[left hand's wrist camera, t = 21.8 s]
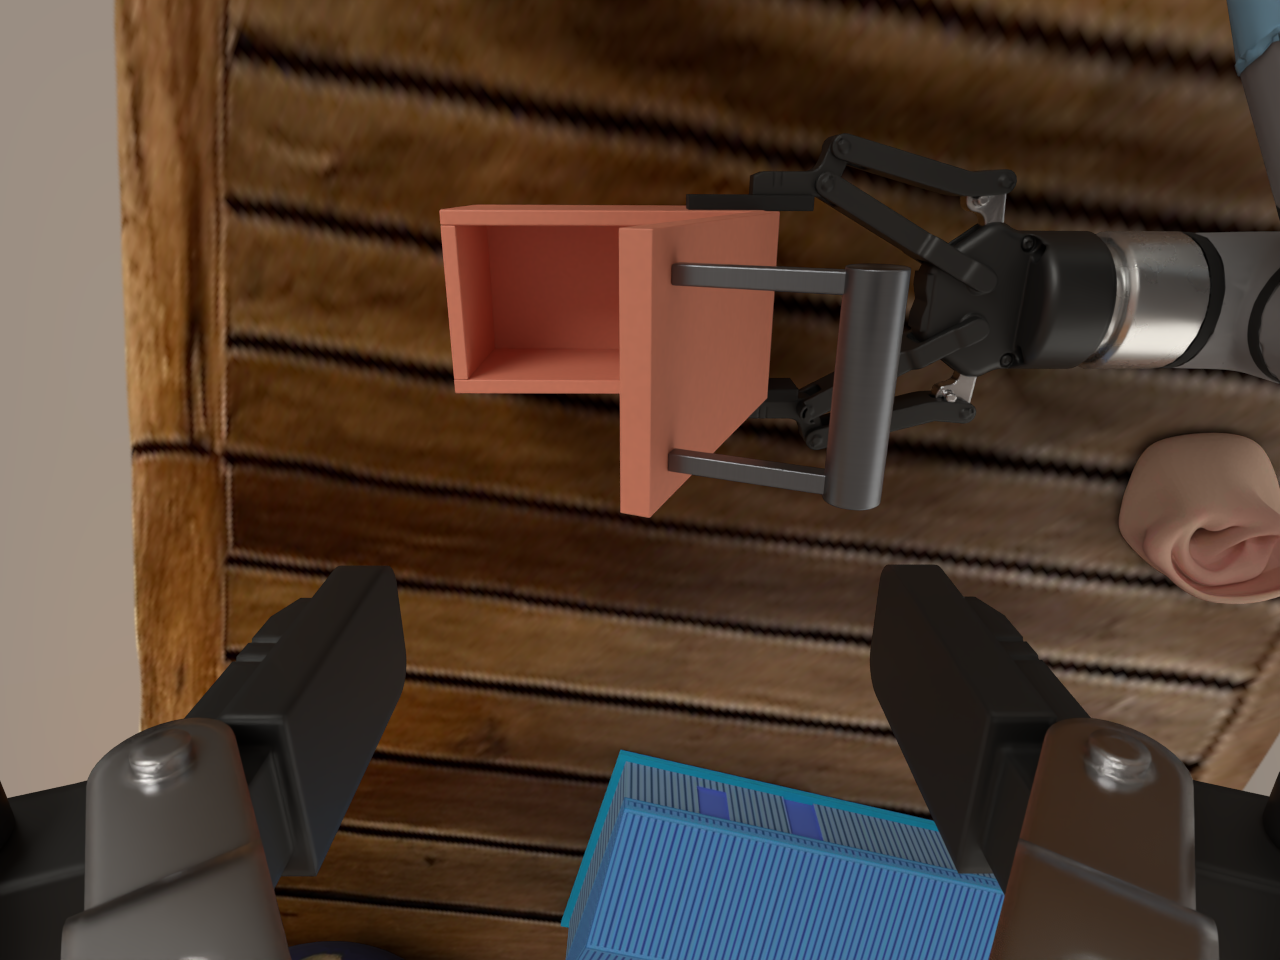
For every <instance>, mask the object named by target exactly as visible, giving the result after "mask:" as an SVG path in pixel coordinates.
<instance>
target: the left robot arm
mask: <svg viewBox="0 0 1280 960" xmlns="http://www.w3.org/2000/svg"><path fill="white" fill-rule="evenodd" d="M870 672H871V679H872V684H873V688H874V691H875V694H876V696H877V698H878V700H879V703H880V705H881V707H882V709H883V711H884V713H885V716H886V718H887V720H888V722H889V724H890V727H891V729H892V731H893V733H894V735H895V737H896V740H897V742H898V744H899V746H900V748H901V750H902V753H903V755H904V757H905V759H906V761H907V763H908V766H909V768H910V770H911V772H912V774H913V776H914V779H915V781H916V783H917V785H918V787H919V789H920V792H921V794H922V796H923V798H924V800H925V802H926V805H927V807H928V809H929V811H930V813H931V815H932V818H933V820H934V822H935V824H936V826H937V828H938V831H939V833H940V835H941V837H942V839H943V841H944V844H945V846H946V848H947V850H948V852H949V854H950V857H951V859H952V861H953V863H954V865H955V868H956V870H957V872H958V874H994V876H995V878H996V880H997V882H998V884H999V886H1000V888H1001V890H1002V891H1003V893H1004V895H1005V896H1004V900H1003V904H1002V908H1001V912H1000V916H999V920H998V924H997V928H996V932H995V936H994V940H993V944H992V948H991V952H990V956H989V960H1280V772H1279V774H1278V777H1277V779H1276V782H1275V784H1274V787H1273V789H1272V792H1271V794H1270V797H1269V796H1264V795H1260V794H1255V793H1250V792H1245V791H1241V790H1236V789H1232V788H1227V787H1223V786H1218V785H1213V784H1209V783H1204V782H1199V781H1195V780H1192V777H1191V775H1190V773H1189V771H1188V770H1187V768H1186V767H1185V765H1184V764H1183V763H1182V762H1181V761H1180V760H1179V759H1178V758H1177V757H1176V756H1175V755H1174V754H1173V753H1172V752H1171V751H1170V750H1168V749H1167V748H1166V747H1164V746H1163V745H1161V744H1160V743H1158V742H1157V741H1155V740H1154V739H1152V738H1150V737H1148V736H1146V735H1145V734H1143V733H1140V732H1138V731H1136V730H1134V729H1131V728H1129V727H1126V726H1123V725H1121V724H1117V723H1114V722H1110V721H1106V720H1100V719H1094V718H1091V717H1090V716H1089V715H1088V714H1087V713H1086V712H1085V710H1084V709H1083V708H1082V707H1081V706H1080V704H1079V703H1078V702H1077V701H1076V700H1075V698H1074V697H1073V696H1072V695H1071V694H1070V693H1069V691H1068V690H1067V689H1066V688H1065V687H1064V685H1063V684H1062V683H1061V682H1060V681H1059V679H1058V678H1057V677H1056V676H1055V675H1054V674H1053V672H1052V671H1051V670H1050V669H1049V668H1048V666H1047V665H1046V664H1045V663H1044V662H1043V661H1042V660H1039V659H1038V655H1037V653H1036V652H1035V651H1034V650H1033V649H1032V647H1031V646H1030V645H1029V644H1028V643H1027V642H1023V637H1022V636H1021V634H1020V633H1019V632H1018V631H1017V630H1016V628H1015V627H1014V626H1013V625H1012V624H1011V623H1010V621H1009V620H1008V619H1007V618H1006V617H1005V615H1003V614H1001V613H1000V612H998V611H997V610H995V609H993V608H992V607H990V606H989V605H987V604H986V603H984V602H982V601H981V600H979V599H978V598H976V597H963V596H962V594H961V593H960V592H959V590H958V589H957V588H956V587H955V585H954V584H953V583H952V581H951V580H950V579H949V578H948V576H947V575H946V574H945V573H944V571H943V570H942V569H941V568H940V567H939V566H938V565H886V566H885V567H884V569H883V571H882V573H881V577H880V583H879V590H878V598H877V605H876V613H875V620H874V628H873V635H872V642H871V650H870ZM405 675H406V650H405V642H404V635H403V627H402V620H401V613H400V605H399V598H398V591H397V583H396V578H395V574H394V572H393V570H392V568H391V567H390V566H338V567H336V568H335V569H334V571H333V572H332V573H331V574H330V576H329V577H328V578H327V579H326V581H325V582H324V583H323V585H322V586H321V587H320V588H319V590H318V591H317V592H316V593H315V595H314V596H313V597H312V598H300V599H298V600H297V601H295V602H293V603H292V604H290V605H289V606H287V607H286V608H284V609H282V610H281V611H279V612H278V613H276V614H274V615H273V616H271V617H270V618H269V619H268V621H267V622H266V623H265V624H264V625H263V626H262V628H261V629H260V630H259V631H258V632H257V634H256V635H255V636H254V637H253V638H252V643H248V644H247V645H246V646H245V648H244V649H243V650H242V651H241V652H240V653H239V655H238V656H237V660H236V662H232V663H231V664H230V665H229V666H228V668H227V669H226V670H225V671H224V672H223V673H222V675H221V676H220V677H219V678H218V679H217V680H216V682H215V683H214V684H213V685H212V686H211V688H210V689H209V690H208V691H207V692H206V693H205V695H204V696H203V697H202V698H201V699H200V700H199V702H198V703H197V704H196V705H195V706H194V707H193V709H192V710H191V711H190V712H189V713H188V715H187V716H186V717H185V718H184V719H180V720H174V721H170V722H166V723H163V724H159V725H157V726H154V727H151V728H149V729H146V730H144V731H142V732H140V733H137V734H135V735H134V736H132V737H130V738H128V739H126V740H125V741H123V742H122V743H120V744H119V745H117V746H116V747H114V748H113V749H112V750H110V751H109V752H108V753H107V754H106V755H105V756H104V757H103V758H102V759H101V760H100V761H99V762H98V763H97V764H96V765H95V767H94V768H93V770H92V771H91V773H90V775H89V777H88V780H87V781H83V782H80V783H76V784H71V785H66V786H62V787H57V788H52V789H48V790H43V791H39V792H34V793H29V794H25V795H20V796H15V797H11V798H7V796H6V794H5V792H4V789H3V787H2V784H1V782H0V960H291V956H290V952H289V948H288V944H287V940H286V936H285V932H284V928H283V924H282V920H281V916H280V912H279V908H278V904H277V900H276V896H275V892H274V888H275V886H276V884H277V882H278V880H279V878H280V877H281V876H316V875H317V873H318V871H319V869H320V867H321V865H322V863H323V860H324V858H325V856H326V854H327V852H328V850H329V848H330V845H331V843H332V841H333V839H334V837H335V835H336V833H337V830H338V828H339V826H340V824H341V822H342V820H343V818H344V815H345V813H346V811H347V809H348V807H349V805H350V803H351V800H352V798H353V796H354V794H355V792H356V790H357V788H358V785H359V783H360V781H361V779H362V777H363V775H364V773H365V771H366V768H367V766H368V764H369V762H370V760H371V758H372V756H373V753H374V751H375V749H376V747H377V745H378V743H379V741H380V738H381V736H382V734H383V732H384V730H385V728H386V726H387V723H388V721H389V719H390V717H391V715H392V713H393V711H394V708H395V706H396V704H397V702H398V700H399V698H400V695H401V693H402V690H403V686H404V681H405Z"/></svg>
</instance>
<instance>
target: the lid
mask: <svg viewBox="0 0 1280 960" xmlns="http://www.w3.org/2000/svg"><path fill="white" fill-rule="evenodd" d="M779 217H780V212H779V211H755V212H747V213H739V214H730V215H722V216H714V217H706V218H697V219H689V220H681V221H673V222H664V223H656V224H648V225H639V226H631V227H623V228H619V333H620V492H621V513H625V514H631V515H637V516H642V517H648V518H649V517H651V516H652V515H653V514H654V513H655V512H656V511H657V510H658V509H659V508H660V507H661V506H662V505H663V504H664V503H665V502H666V500H667V499H668V498H669V497H670V496H671V495H672V494H673V493H674V492H675V491H676V490H677V489H678V488H679V487H680V486H681V485H682V484H683V483H684V482H685V481H686V480H687V479H688V478H689V477H690V476H691V475H697V476H704V477H710V478H717V479H724V480H730V481H737V482H744V483H750V484H757V485H764V486H770V487H777V488H784V489H790V490H797V491H804V492H810V493H817V494H822V497H823V499H824V500H825V501H826V502H827V503H829V504H831V505H833V506H836V507H839V508H843V509H849V510H868V509H872V508H875V507H877V506H878V505H879V504H880V501H881V493H882V486H883V478H884V470H885V463H886V455H887V448H888V440H889V433H890V425H891V418H892V410H893V402H894V395H895V387H896V380H897V372H898V365H899V357H900V350H901V342H902V334H903V327H904V319H905V312H906V304H907V297H908V289H909V282H910V274H911V268H909V267H907V266H901V265H891V264H851V265H847V266H846V267H845V269H825V268H802V267H779V266H776V261H777V247H778V232H779ZM774 291H781V292H799V293H817V294H835V295H842V304H841V314H840V324H839V334H838V344H837V354H836V364H835V374H834V384H833V394H832V403H831V413H830V423H829V433H828V443H827V453H826V463H825V469H822V468H815V467H808V466H800V465H793V464H786V463H779V462H771V461H764V460H757V459H750V458H742V457H735V456H728V455H721V454H713V453H714V452H715V451H716V450H717V449H718V448H719V447H720V446H721V445H722V443H723V442H724V441H725V440H726V439H727V438H728V437H729V436H730V435H731V434H732V433H733V432H734V431H735V430H736V429H737V428H738V427H739V426H740V425H741V424H742V423H743V422H744V421H745V420H746V419H747V418H748V417H749V416H750V415H751V414H752V413H753V412H754V411H755V410H756V409H757V408H758V407H759V406H760V405H761V404H762V403H763V402H764V401H765V400H766V399H767V393H768V379H769V364H770V349H771V335H772V320H773V305H774Z"/></svg>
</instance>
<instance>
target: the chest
mask: <svg viewBox="0 0 1280 960" xmlns="http://www.w3.org/2000/svg"><path fill="white" fill-rule="evenodd" d="M755 211H764V210H688V209H686V206H670V205H471V206H464V207H456V208H449V209H441V210H440V211H439V212H440V223H441V225H442V226H441V236H442V247H443V258H444V269H445V281H446V292H447V303H448V314H449V325H450V337H451V348H452V359H453V370H454V379H455V380H454V382H455V392H456V393H579V394H620V333H619V228H623V227H631V226H639V225H648V224H656V223H664V222H673V221H681V220H689V219H697V218H706V217H714V216H722V215H730V214H739V213H747V212H755Z"/></svg>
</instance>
